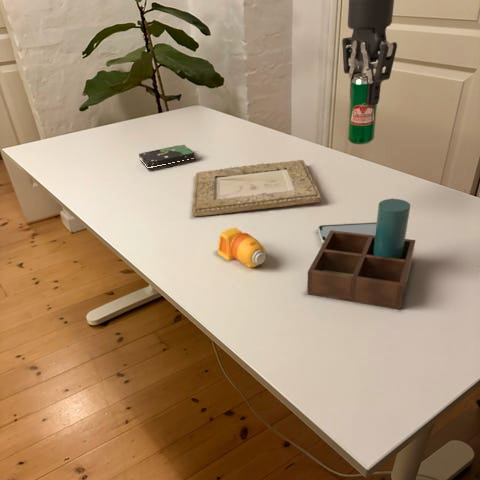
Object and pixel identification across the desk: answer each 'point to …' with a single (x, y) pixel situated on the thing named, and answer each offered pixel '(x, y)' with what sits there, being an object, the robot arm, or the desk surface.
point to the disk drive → (167, 157)
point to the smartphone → (347, 229)
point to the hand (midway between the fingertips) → (363, 101)
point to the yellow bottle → (241, 247)
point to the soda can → (361, 112)
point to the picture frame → (253, 188)
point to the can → (391, 228)
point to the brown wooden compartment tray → (359, 271)
